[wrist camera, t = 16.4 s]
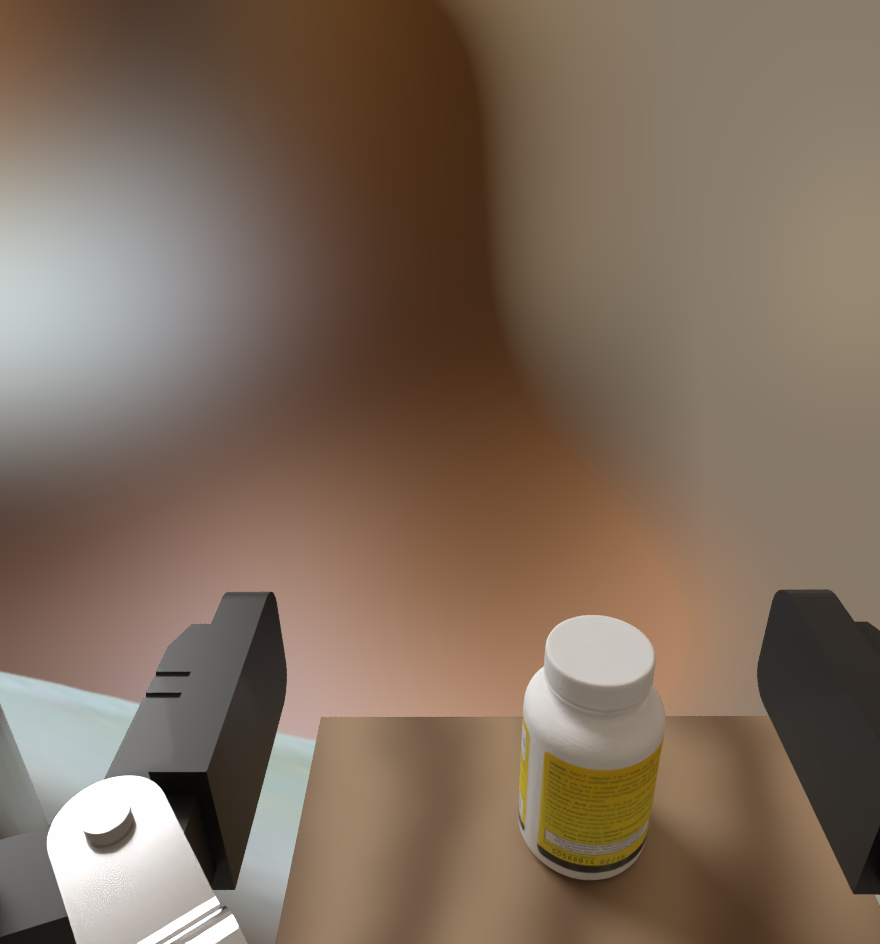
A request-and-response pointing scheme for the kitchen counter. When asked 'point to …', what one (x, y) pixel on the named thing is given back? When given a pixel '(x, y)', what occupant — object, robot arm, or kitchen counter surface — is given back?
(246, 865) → the kitchen counter surface
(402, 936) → the cubby
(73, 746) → the kitchen counter surface
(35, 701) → the kitchen counter surface
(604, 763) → the supplement bottle
